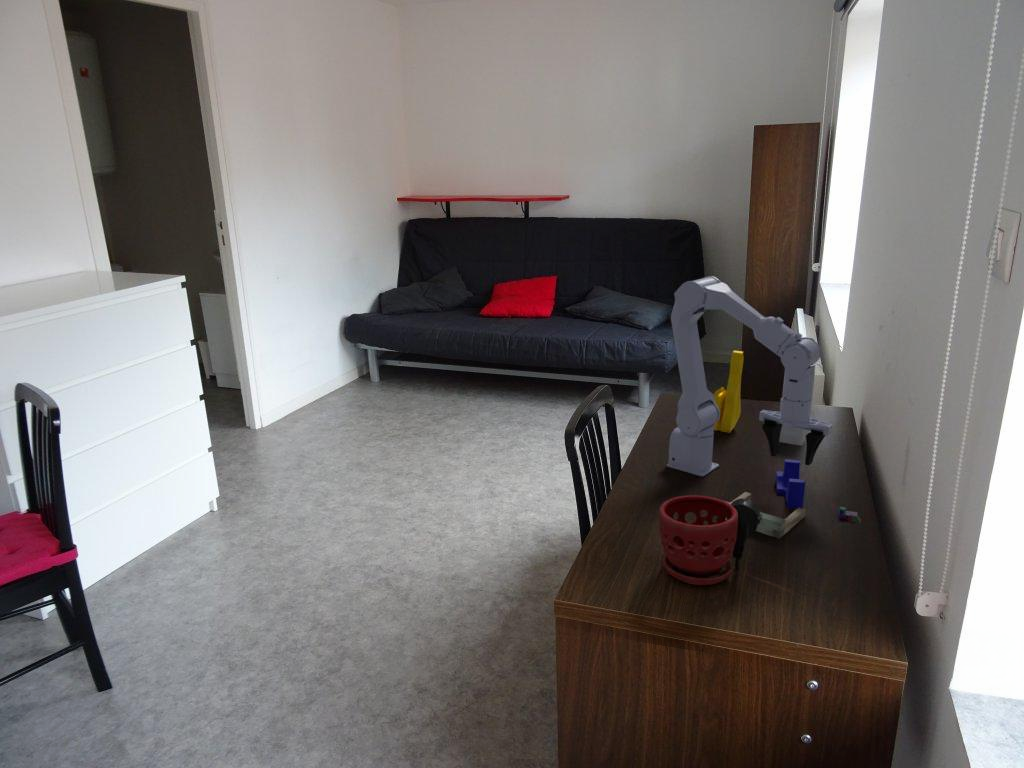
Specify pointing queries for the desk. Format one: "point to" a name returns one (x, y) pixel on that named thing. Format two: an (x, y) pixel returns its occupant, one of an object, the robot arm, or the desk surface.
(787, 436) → the skincare box
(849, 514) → the multicolored checkered block
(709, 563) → the plant pot
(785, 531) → the channel
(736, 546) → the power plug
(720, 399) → the figure statuette
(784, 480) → the cable clip
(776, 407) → the desk surface
